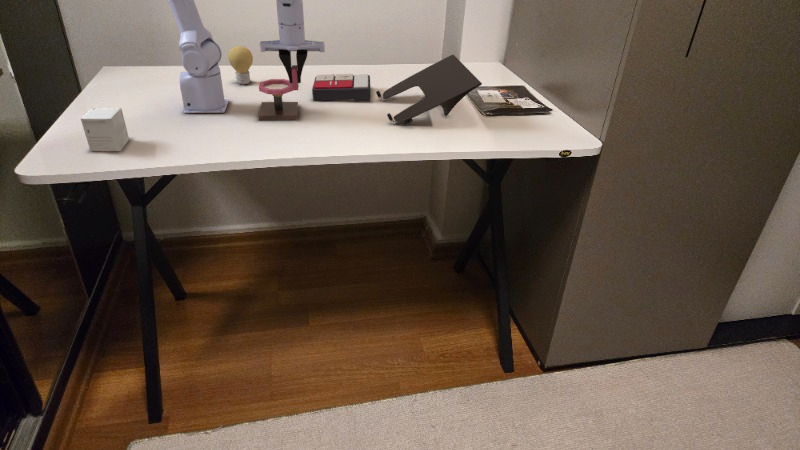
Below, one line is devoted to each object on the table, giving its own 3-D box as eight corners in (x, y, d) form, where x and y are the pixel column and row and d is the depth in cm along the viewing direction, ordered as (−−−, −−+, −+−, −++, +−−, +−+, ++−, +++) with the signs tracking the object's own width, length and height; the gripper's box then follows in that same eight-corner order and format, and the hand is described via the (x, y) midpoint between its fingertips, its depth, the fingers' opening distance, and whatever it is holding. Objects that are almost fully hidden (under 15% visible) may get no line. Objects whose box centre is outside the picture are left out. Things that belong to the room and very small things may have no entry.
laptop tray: (387, 115, 146) (373, 87, 141) (462, 77, 144) (450, 46, 139) (405, 151, 128) (389, 120, 122) (490, 108, 126) (479, 74, 120)
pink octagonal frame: (258, 94, 122) (255, 72, 119) (261, 83, 129) (258, 61, 126) (297, 94, 123) (296, 72, 120) (298, 82, 130) (297, 61, 127)
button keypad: (315, 73, 144) (369, 72, 145) (316, 88, 147) (370, 87, 147) (311, 87, 135) (369, 85, 136) (313, 103, 137) (370, 101, 138)
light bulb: (260, 82, 147) (256, 46, 141) (243, 88, 142) (238, 51, 137) (244, 77, 150) (239, 42, 144) (226, 83, 145) (221, 46, 140)
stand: (258, 120, 125) (256, 100, 122) (262, 106, 133) (260, 87, 130) (297, 120, 126) (295, 100, 124) (298, 106, 134) (297, 87, 131)
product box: (89, 151, 108) (79, 118, 104) (100, 139, 113) (90, 106, 109) (120, 151, 109) (111, 118, 105) (130, 139, 114) (121, 106, 110)
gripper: (256, 26, 114) (262, 87, 121) (323, 27, 116) (326, 87, 123) (259, 18, 120) (265, 77, 127) (323, 19, 121) (325, 77, 129)
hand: (295, 81), depth 126 cm, fingers closed on pink octagonal frame
